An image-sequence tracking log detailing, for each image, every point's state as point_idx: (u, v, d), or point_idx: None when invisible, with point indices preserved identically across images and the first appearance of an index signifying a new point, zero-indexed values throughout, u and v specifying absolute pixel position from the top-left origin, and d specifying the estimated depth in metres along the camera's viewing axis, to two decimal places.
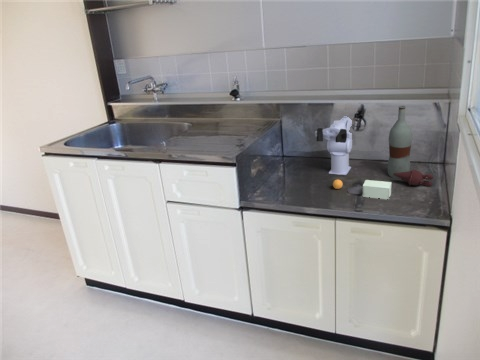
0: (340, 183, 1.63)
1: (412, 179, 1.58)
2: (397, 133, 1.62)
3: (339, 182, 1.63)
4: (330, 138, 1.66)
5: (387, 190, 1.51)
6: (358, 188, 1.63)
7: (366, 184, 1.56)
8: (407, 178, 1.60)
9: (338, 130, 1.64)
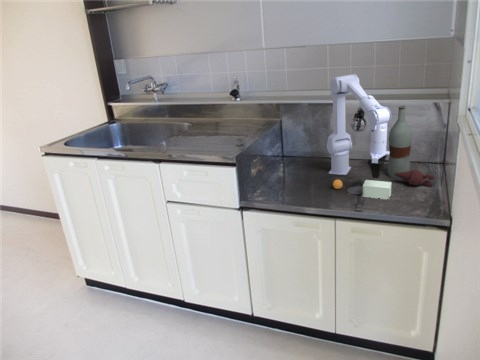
0: (340, 183, 1.63)
1: (413, 179, 1.58)
2: (397, 133, 1.62)
3: (339, 182, 1.63)
4: None
5: (387, 190, 1.51)
6: (358, 188, 1.63)
7: (366, 184, 1.56)
8: (408, 178, 1.60)
9: None
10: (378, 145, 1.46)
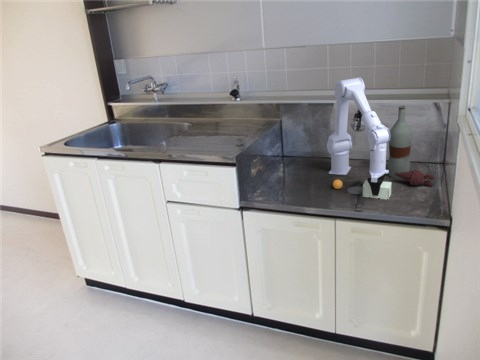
0: (340, 183, 1.63)
1: (413, 179, 1.58)
2: (397, 133, 1.62)
3: (339, 182, 1.63)
4: None
5: (387, 190, 1.51)
6: (358, 188, 1.63)
7: (366, 184, 1.56)
8: (408, 178, 1.60)
9: None
10: (377, 164, 1.49)
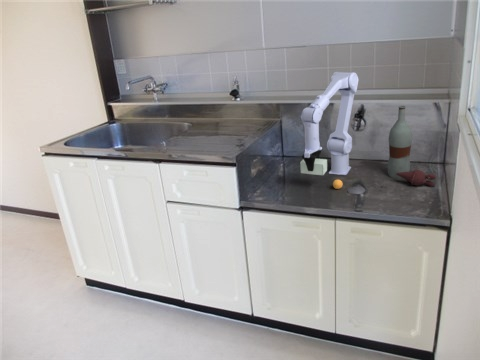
0: (340, 183, 1.63)
1: (414, 179, 1.58)
2: (397, 133, 1.62)
3: (339, 182, 1.63)
4: None
5: (321, 166, 1.62)
6: (358, 188, 1.63)
7: (303, 161, 1.67)
8: (409, 178, 1.60)
9: None
10: (311, 141, 1.60)
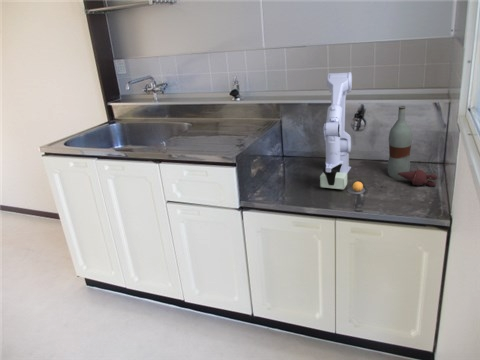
0: (353, 185, 1.61)
1: (416, 179, 1.58)
2: (397, 133, 1.62)
3: (353, 187, 1.61)
4: None
5: (342, 180, 1.60)
6: None
7: (323, 175, 1.65)
8: (411, 178, 1.60)
9: None
10: (332, 155, 1.58)
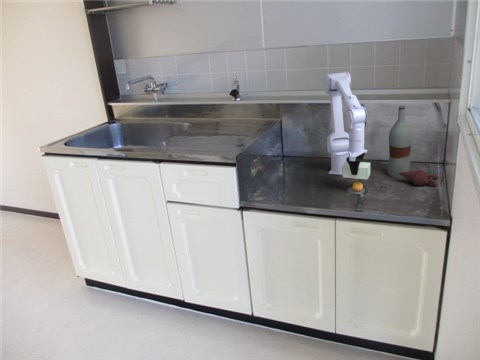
0: (353, 185, 1.61)
1: (417, 179, 1.58)
2: (397, 133, 1.62)
3: (353, 187, 1.61)
4: None
5: (365, 170, 1.54)
6: None
7: (345, 165, 1.59)
8: (412, 178, 1.60)
9: None
10: (356, 144, 1.52)
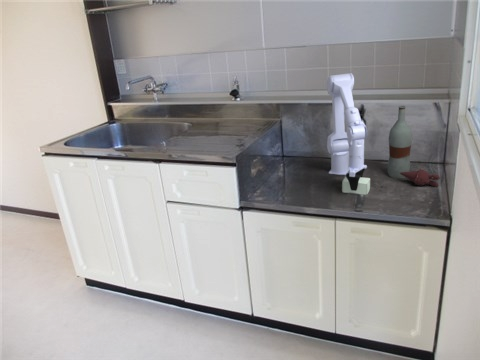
0: None
1: (418, 179, 1.58)
2: (397, 133, 1.62)
3: None
4: None
5: (365, 186, 1.57)
6: None
7: (346, 180, 1.61)
8: (413, 178, 1.60)
9: None
10: (356, 159, 1.54)
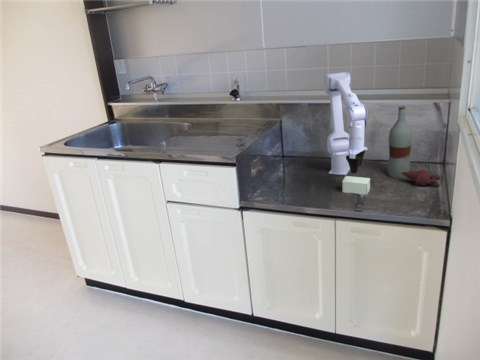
0: None
1: (419, 179, 1.58)
2: (397, 133, 1.62)
3: None
4: None
5: (365, 186, 1.57)
6: None
7: (346, 180, 1.61)
8: (414, 178, 1.60)
9: None
10: (356, 141, 1.52)
